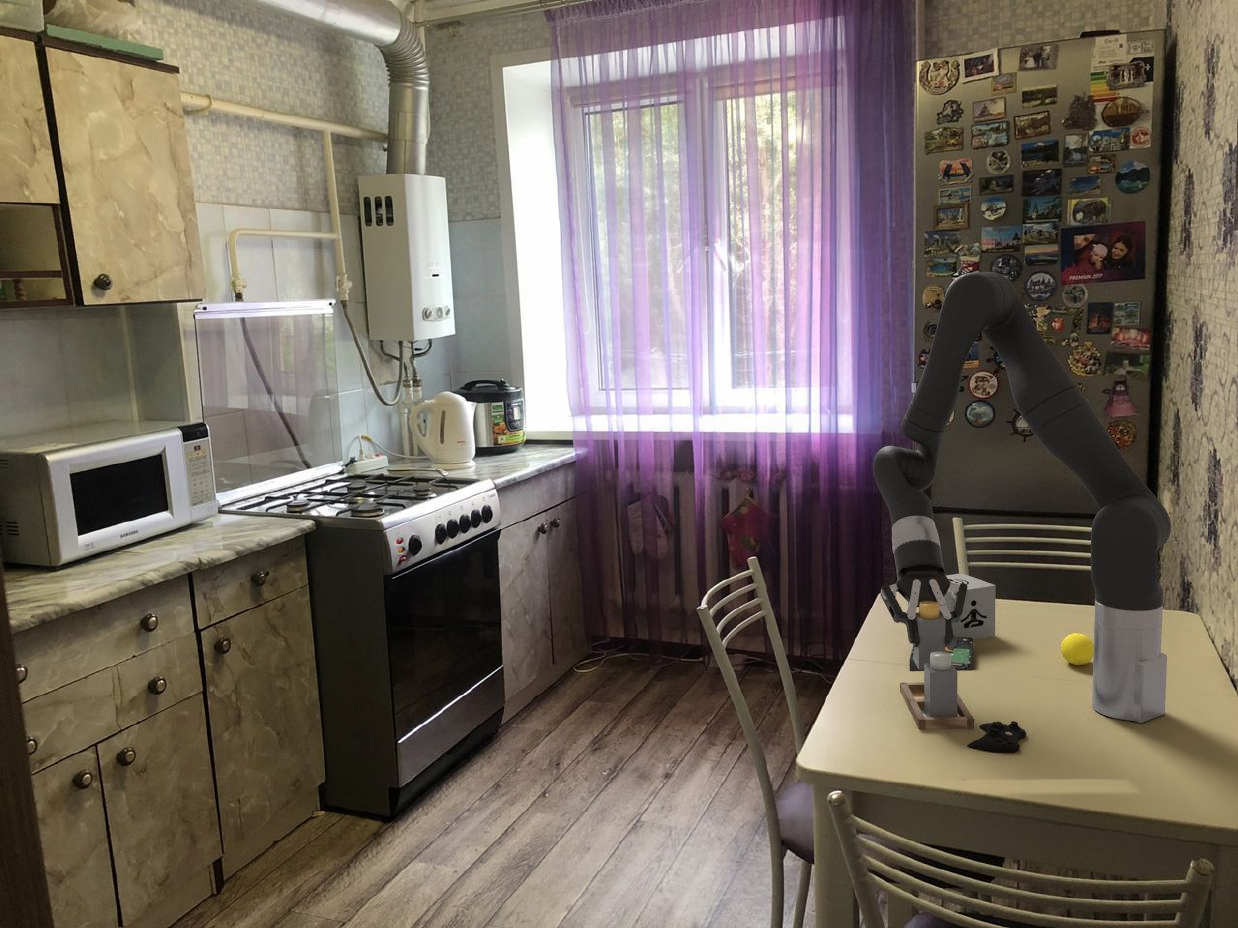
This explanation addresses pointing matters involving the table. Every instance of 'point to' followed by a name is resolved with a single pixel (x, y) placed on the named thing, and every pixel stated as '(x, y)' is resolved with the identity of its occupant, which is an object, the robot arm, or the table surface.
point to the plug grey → (940, 686)
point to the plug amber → (929, 632)
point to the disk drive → (954, 654)
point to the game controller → (999, 738)
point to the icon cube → (973, 608)
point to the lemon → (1077, 649)
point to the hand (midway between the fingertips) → (932, 644)
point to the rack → (915, 703)
